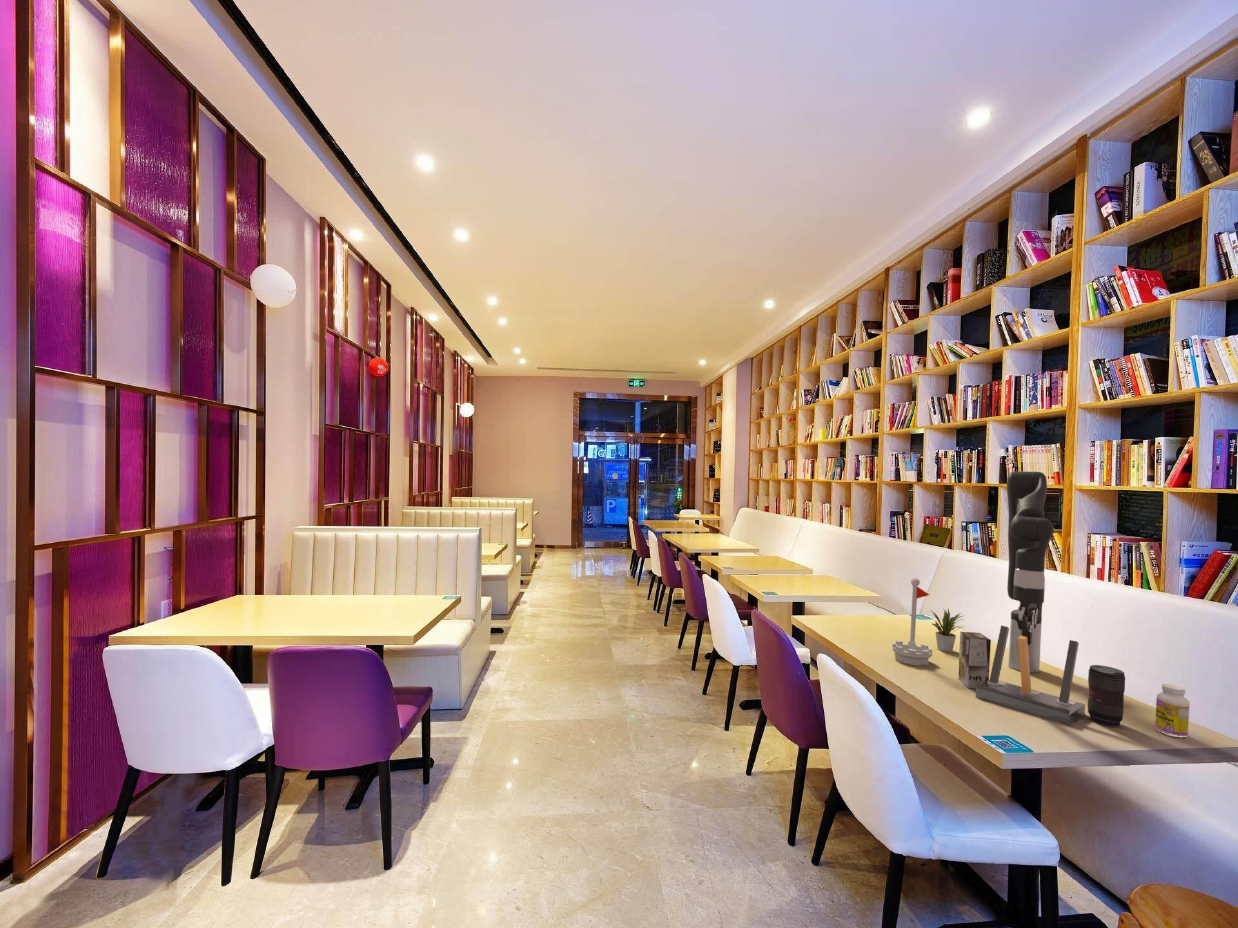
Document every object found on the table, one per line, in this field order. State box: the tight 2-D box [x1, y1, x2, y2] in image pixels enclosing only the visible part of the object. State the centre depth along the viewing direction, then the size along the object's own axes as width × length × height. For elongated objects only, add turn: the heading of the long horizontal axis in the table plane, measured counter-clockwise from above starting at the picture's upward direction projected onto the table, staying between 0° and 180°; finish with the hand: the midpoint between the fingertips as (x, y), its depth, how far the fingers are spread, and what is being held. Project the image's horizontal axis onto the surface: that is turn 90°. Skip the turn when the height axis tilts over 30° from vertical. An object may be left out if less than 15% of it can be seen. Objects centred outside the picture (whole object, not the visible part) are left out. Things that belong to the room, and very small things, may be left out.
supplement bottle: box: [1154, 683, 1190, 737], centre depth 165 cm, size 7×7×13 cm
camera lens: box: [1087, 664, 1126, 728], centre depth 171 cm, size 8×8×15 cm
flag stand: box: [891, 577, 933, 666], centre depth 221 cm, size 13×13×30 cm
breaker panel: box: [975, 680, 1086, 726], centre depth 181 cm, size 14×24×4 cm, turn 39°
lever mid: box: [1018, 636, 1033, 697], centre depth 178 cm, size 2×3×19 cm, turn 38°
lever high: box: [1057, 639, 1079, 708], centre depth 175 cm, size 2×3×19 cm, turn 40°
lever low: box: [987, 625, 1010, 688], centre depth 189 cm, size 2×3×19 cm, turn 40°
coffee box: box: [958, 631, 992, 690], centre depth 197 cm, size 9×6×16 cm
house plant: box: [929, 608, 964, 653], centre depth 236 cm, size 14×14×16 cm
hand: (1026, 643), depth 178 cm, fingers closed
